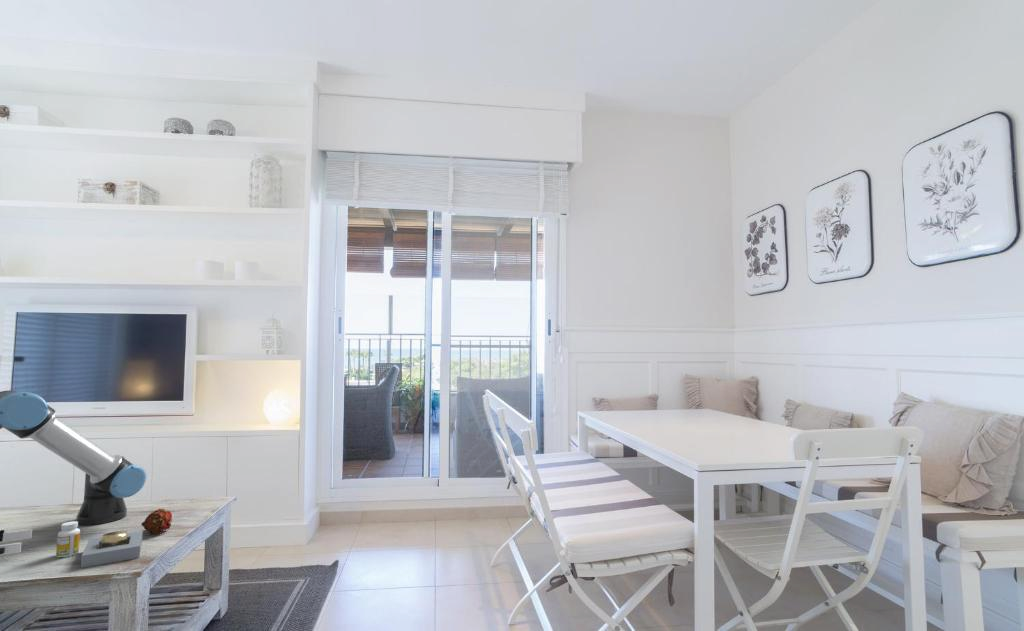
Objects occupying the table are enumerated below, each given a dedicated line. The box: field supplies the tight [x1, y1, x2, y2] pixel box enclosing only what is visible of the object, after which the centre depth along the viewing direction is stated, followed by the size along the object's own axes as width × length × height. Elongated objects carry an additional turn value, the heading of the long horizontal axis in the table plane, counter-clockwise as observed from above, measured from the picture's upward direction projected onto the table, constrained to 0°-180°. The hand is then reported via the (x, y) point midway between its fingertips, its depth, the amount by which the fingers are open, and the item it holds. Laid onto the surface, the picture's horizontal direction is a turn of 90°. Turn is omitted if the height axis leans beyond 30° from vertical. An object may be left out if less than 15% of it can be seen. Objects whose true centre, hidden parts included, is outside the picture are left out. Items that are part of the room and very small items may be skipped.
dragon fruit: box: [141, 508, 173, 534], centre depth 179 cm, size 8×8×12 cm
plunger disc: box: [101, 530, 128, 546], centre depth 159 cm, size 6×6×2 cm
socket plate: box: [80, 530, 144, 569], centre depth 159 cm, size 16×14×4 cm
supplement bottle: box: [55, 520, 81, 558], centre depth 158 cm, size 5×5×10 cm
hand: (26, 540), depth 153 cm, fingers open, 13 cm apart
